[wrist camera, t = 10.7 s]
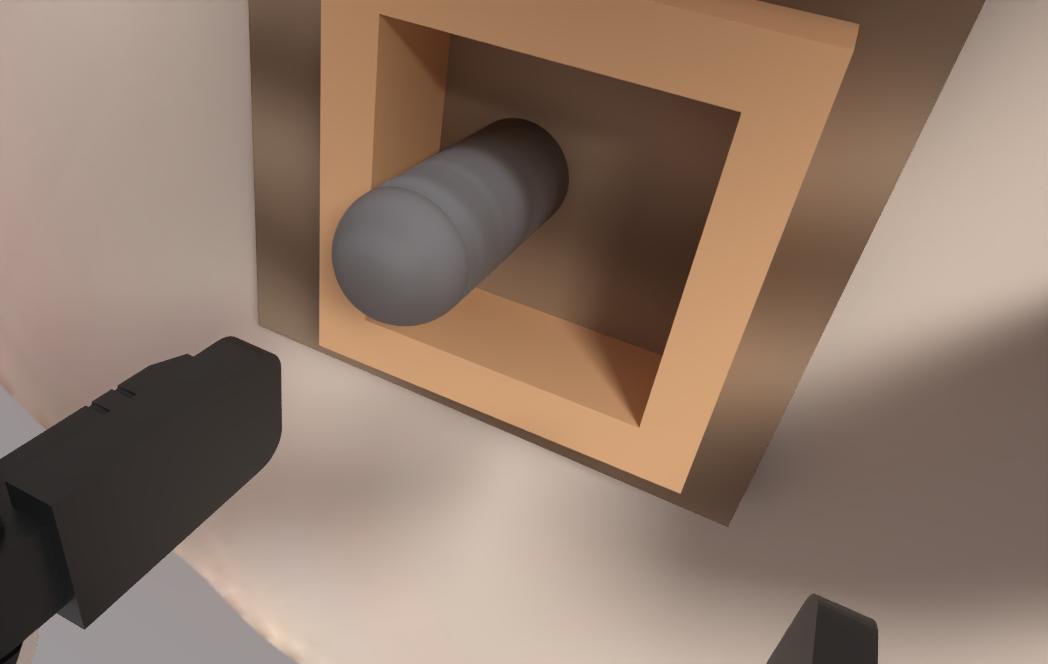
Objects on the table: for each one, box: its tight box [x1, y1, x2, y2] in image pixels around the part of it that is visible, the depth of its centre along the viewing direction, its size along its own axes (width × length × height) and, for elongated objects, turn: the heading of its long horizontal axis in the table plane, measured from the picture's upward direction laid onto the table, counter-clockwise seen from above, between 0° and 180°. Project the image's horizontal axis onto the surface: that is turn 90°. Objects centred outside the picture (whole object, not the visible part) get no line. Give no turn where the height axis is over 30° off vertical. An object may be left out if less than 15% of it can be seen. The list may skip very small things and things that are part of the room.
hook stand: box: [249, 0, 985, 527], centre depth 18 cm, size 18×18×9 cm
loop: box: [319, 0, 860, 494], centre depth 19 cm, size 11×11×4 cm
